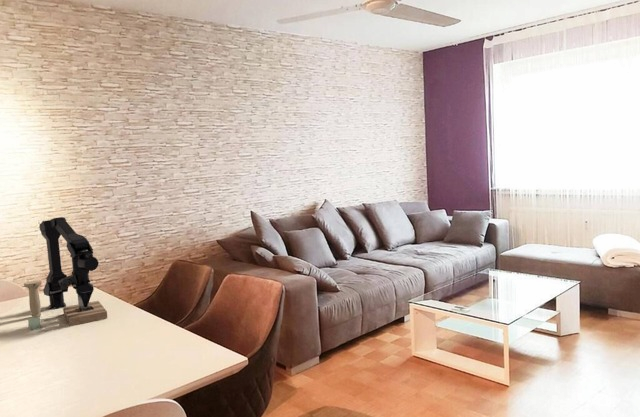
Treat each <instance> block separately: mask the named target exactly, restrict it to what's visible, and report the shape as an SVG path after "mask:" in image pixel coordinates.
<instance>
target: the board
mask: <svg viewBox="0 0 640 417" xmlns="http://www.w3.org/2000/svg"><path fill="white" fill-rule="evenodd" d="M89 307H90V310H88V311H83V312H79V304H74V305H68V306H67V305H66V306H65V307H62V310H63V315H64V317H65V319H66V321H67V324H68V326H69V327H73V326H77V325H81V324H82V325H83V324H86V323H91V322H96V321H101V320H107V319H108V312H107V310H106V308H105V307H104V306H103V305H102V303H101V302H100V301H99V300H95V301H91V302H90V301H89Z"/></svg>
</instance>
